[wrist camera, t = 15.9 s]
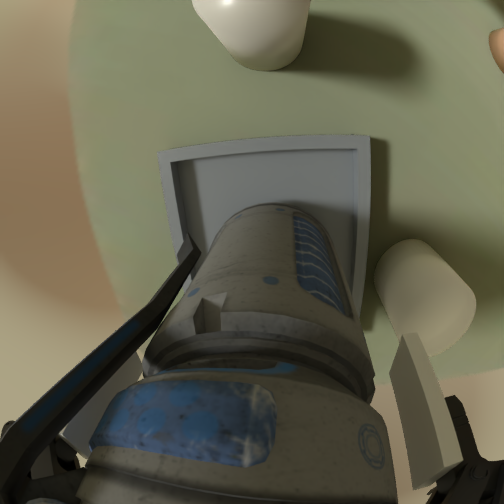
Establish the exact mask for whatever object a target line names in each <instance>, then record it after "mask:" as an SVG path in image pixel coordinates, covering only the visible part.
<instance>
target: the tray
mask: <svg viewBox="0 0 504 504" xmlns="http://www.w3.org/2000/svg"><path fill="white" fill-rule="evenodd" d="M157 155H158V162H159V169H160V175H161V181H162V187H163V193H164V199H165V205H166V210H167V216H168V221H169V226H170V231H171V236H172V241H173V246H174V250H175V255H176V259H177V253H178V251H179V249H180V247H181V245H182V244H183V242H184V240H185V238H186V233H187V232H188V233H189V234H190V236H191V237H192V239H193V240H194V242H195V243H196V245H197V246H198V248H199V249H200V251H201V252H202V253H201V256H200V257H199V259H198V261H197V262H196V264H195V266H194V268H193V269H192V271H191V273H190V274H189V276H188V278H187V279H186V281H185V283H184V284H183V289H184V293H185V292H186V290H187V289H188V287H189V285H190V283H191V282H192V280H193V278H194V277H195V275H196V273H197V272H198V270H199V268H200V267H201V265H202V263H203V262H204V260H205V258H206V257H207V254H208V252H209V249H210V246H211V244H212V242H213V240H214V238H215V236H216V234H217V232H218V231H219V229H220V228H221V227H222V226H223V224H224V223H225V222H226V221H227V220H228V219H229V218H230V217H231V216H233V215H234V214H235V213H236V212H238V211H240V210H242V209H244V208H246V207H248V206H252V205H255V204H258V203H267V202H278V203H286V204H290V205H293V206H296V207H299V208H301V209H303V210H305V211H306V212H308V213H310V214H311V215H313V216H314V217H315V218H316V219H317V220H318V221H320V222H321V224H322V225H323V226H324V228H325V229H326V230H327V231H328V233H329V236H330V238H331V240H332V242H333V244H334V247H335V250H336V252H337V255H338V258H339V261H340V263H341V266H342V269H343V272H344V275H345V278H346V280H347V283H348V286H349V289H350V292H351V295H352V298H353V301H354V304H355V307H356V311H357V314H358V317H359V319H360V312H361V305H362V298H363V291H364V282H365V274H366V264H367V253H368V240H369V224H370V199H371V153H370V136H367V135H296V136H276V137H262V138H250V139H240V140H230V141H222V142H214V143H206V144H199V145H193V146H186V147H180V148H174V149H169V150H164V151H159V152H157ZM177 264H178V265H179V262H178V259H177Z"/></svg>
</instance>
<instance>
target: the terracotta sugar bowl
mask: <svg viewBox="0 0 504 504" xmlns="http://www.w3.org/2000/svg"><path fill="white" fill-rule="evenodd" d="M489 46H490V50H491V53H492V55H493V58H494V60H495V62H496V63H497V65H498V67H499V68H500V70H501V71H502V72H503V73H504V28H500V29H497V30H494V31H492V32H491V33H490V35H489Z"/></svg>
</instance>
